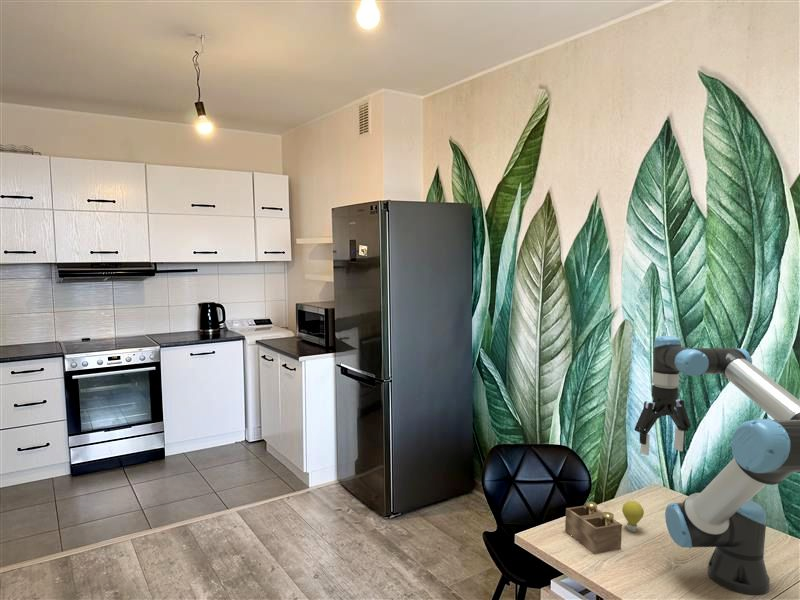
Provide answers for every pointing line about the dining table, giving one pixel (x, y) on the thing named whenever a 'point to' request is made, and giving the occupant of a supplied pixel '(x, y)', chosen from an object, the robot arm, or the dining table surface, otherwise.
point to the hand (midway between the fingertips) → (661, 452)
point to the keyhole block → (593, 529)
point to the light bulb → (632, 514)
